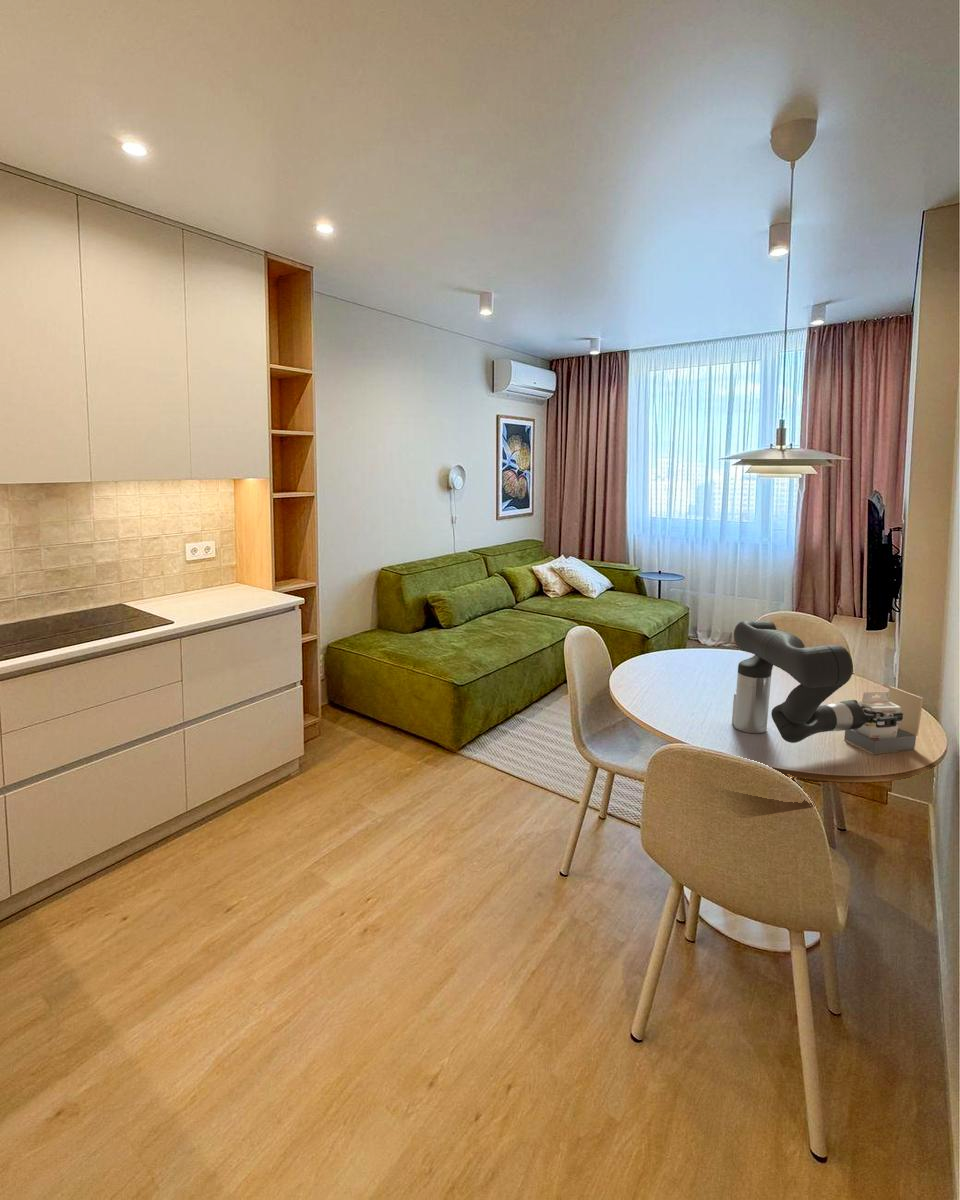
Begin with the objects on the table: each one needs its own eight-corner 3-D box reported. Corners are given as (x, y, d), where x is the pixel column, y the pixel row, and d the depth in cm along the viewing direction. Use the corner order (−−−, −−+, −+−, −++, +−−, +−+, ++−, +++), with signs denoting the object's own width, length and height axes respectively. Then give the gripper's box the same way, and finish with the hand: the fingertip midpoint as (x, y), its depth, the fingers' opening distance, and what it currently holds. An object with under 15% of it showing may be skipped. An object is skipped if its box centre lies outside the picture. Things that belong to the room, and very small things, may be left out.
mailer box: (844, 740, 180) (849, 690, 177) (885, 735, 184) (891, 686, 181) (873, 755, 171) (880, 702, 168) (916, 749, 174) (923, 697, 171)
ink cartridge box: (867, 748, 174) (874, 697, 171) (855, 740, 179) (861, 691, 176) (896, 746, 175) (903, 696, 172) (883, 739, 180) (889, 690, 177)
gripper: (863, 712, 164) (913, 706, 168) (821, 694, 178) (868, 689, 182) (860, 739, 165) (909, 733, 169) (819, 719, 179) (865, 714, 183)
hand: (888, 710), depth 175 cm, fingers open, 8 cm apart
